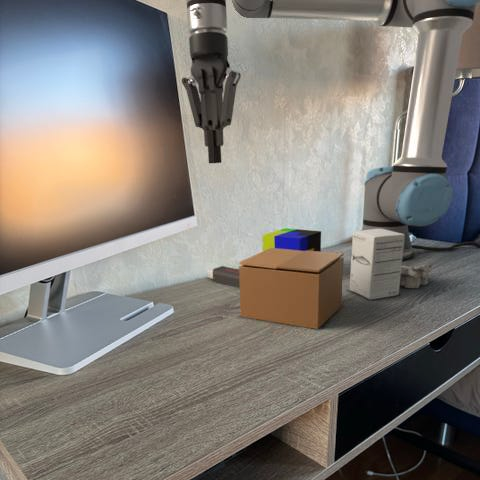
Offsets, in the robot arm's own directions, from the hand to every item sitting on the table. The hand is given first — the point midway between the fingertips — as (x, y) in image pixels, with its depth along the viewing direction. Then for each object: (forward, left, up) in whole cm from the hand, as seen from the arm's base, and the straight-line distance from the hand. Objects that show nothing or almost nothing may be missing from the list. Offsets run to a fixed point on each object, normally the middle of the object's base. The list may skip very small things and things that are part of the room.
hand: (215, 162), depth 95 cm
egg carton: (-40, +6, -27) cm, 48 cm away
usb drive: (-2, 0, -27) cm, 27 cm away
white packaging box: (-32, +13, -27) cm, 44 cm away
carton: (-14, +22, -26) cm, 37 cm away
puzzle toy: (-17, -4, -27) cm, 32 cm away
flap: (-11, +20, -17) cm, 28 cm away
